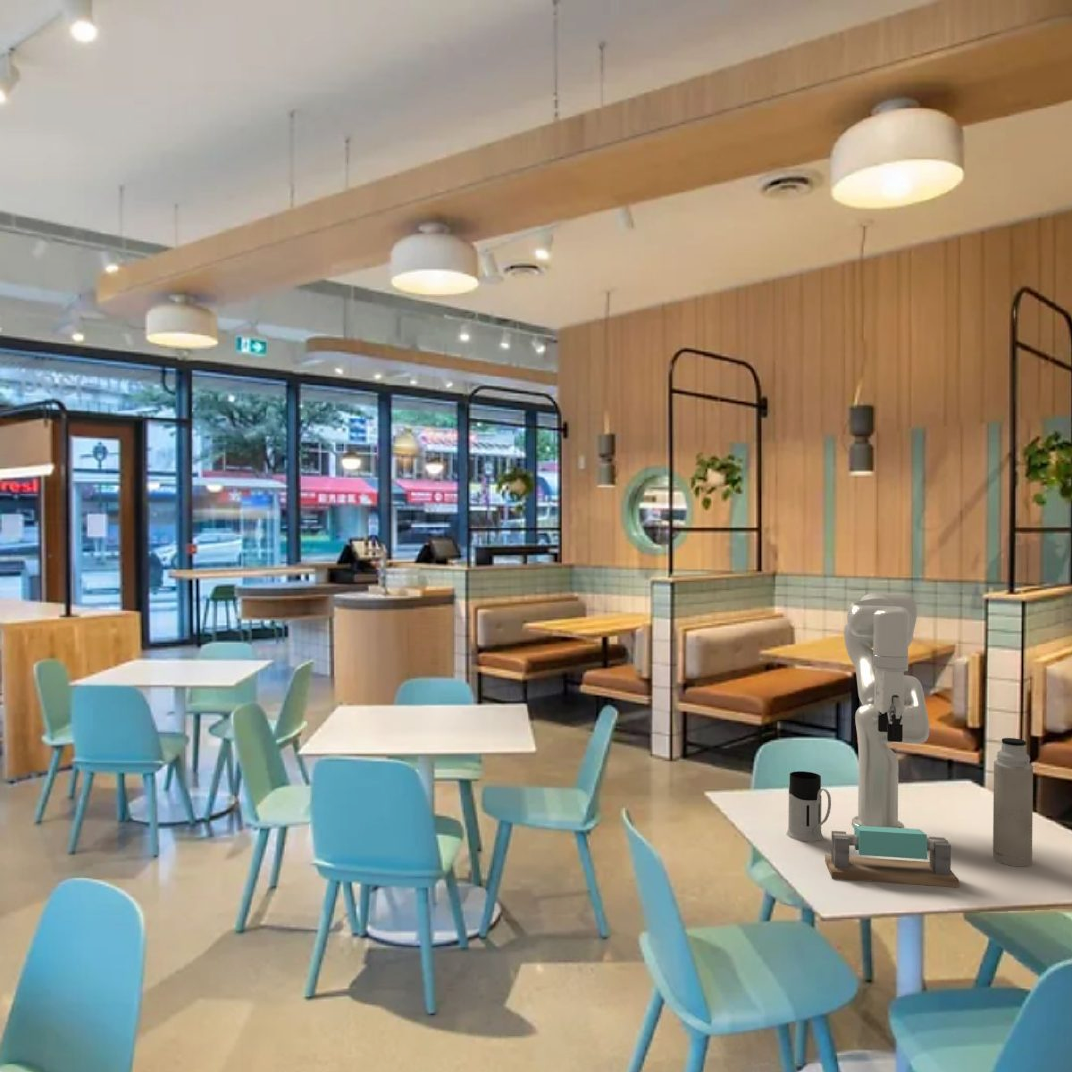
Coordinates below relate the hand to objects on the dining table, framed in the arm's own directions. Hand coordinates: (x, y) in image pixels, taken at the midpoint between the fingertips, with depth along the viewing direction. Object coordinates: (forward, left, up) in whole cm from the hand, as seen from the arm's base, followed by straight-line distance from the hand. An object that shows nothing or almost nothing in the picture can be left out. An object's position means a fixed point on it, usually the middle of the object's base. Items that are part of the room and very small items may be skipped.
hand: (889, 736), depth 205 cm
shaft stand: (+10, -2, -28) cm, 30 cm away
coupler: (+10, -2, -24) cm, 26 cm away
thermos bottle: (-4, +28, -28) cm, 40 cm away
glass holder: (-10, -16, -28) cm, 34 cm away
